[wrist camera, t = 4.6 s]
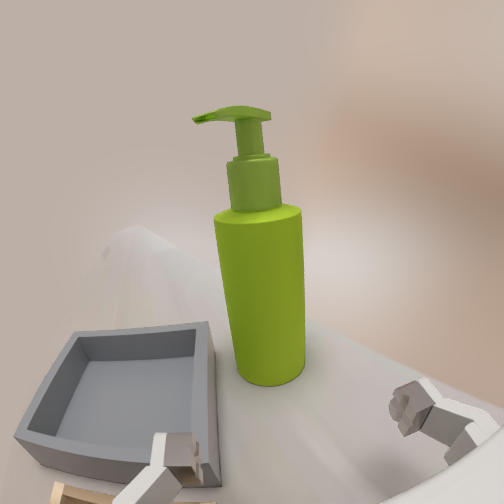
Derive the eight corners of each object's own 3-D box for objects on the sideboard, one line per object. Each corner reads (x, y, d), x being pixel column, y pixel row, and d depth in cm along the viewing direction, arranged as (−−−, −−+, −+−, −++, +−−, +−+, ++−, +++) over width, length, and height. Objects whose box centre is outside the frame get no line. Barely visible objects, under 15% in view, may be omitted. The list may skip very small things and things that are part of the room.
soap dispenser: (215, 376, 22) (169, 117, 15) (263, 336, 27) (241, 119, 20) (272, 404, 18) (242, 93, 12) (316, 353, 23) (307, 107, 17)
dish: (221, 486, 12) (208, 462, 11) (41, 464, 11) (13, 436, 10) (214, 352, 25) (208, 321, 24) (87, 359, 24) (74, 331, 23)
